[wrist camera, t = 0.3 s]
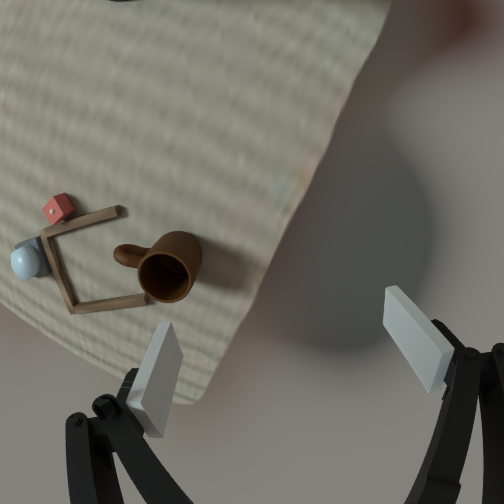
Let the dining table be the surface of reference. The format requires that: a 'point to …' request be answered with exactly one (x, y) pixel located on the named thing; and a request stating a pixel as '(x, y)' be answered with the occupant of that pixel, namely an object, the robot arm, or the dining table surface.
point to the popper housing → (39, 247)
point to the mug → (164, 265)
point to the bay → (60, 276)
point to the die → (57, 208)
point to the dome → (25, 262)
